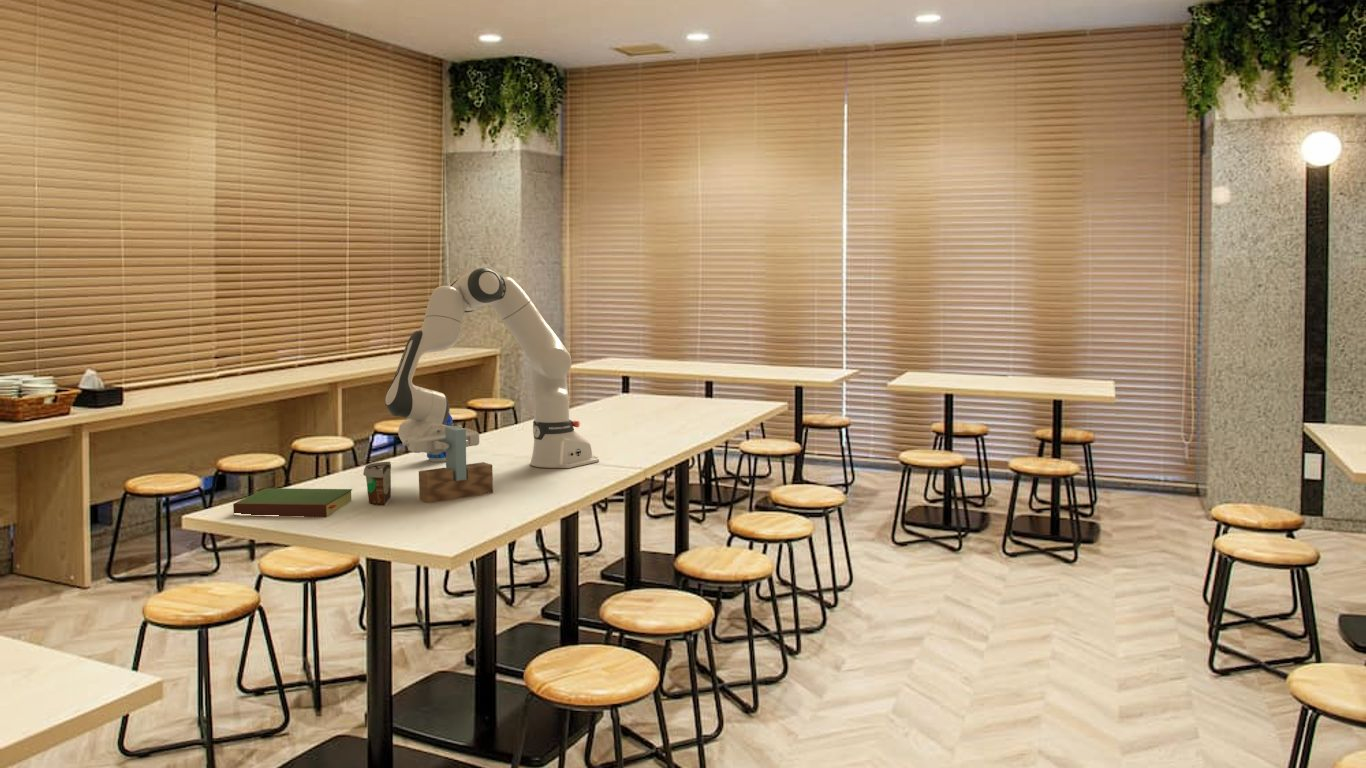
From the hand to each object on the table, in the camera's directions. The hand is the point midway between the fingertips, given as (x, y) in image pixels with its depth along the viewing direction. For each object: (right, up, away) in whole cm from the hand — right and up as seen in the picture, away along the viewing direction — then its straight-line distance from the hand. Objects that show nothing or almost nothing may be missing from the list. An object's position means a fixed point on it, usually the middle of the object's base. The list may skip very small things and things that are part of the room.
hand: (456, 445), depth 297 cm
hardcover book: (-40, -17, -11) cm, 45 cm away
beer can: (-17, -8, +56) cm, 59 cm away
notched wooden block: (-1, -14, +2) cm, 15 cm away
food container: (-21, -15, -4) cm, 26 cm away
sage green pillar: (-1, -9, +2) cm, 10 cm away
